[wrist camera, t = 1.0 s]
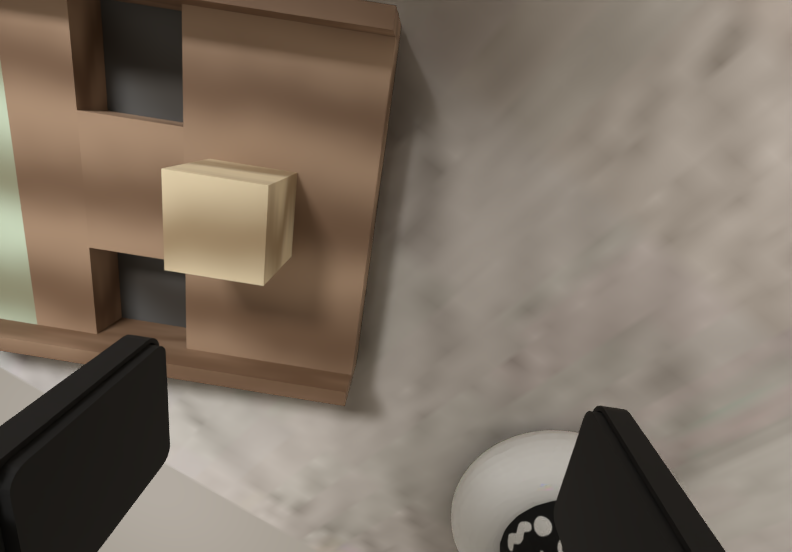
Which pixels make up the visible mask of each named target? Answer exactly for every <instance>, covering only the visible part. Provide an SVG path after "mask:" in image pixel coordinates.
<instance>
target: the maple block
mask: <svg viewBox="0 0 792 552" xmlns="http://www.w3.org/2000/svg"><path fill="white" fill-rule="evenodd" d="M161 177H162V209H163V241H164V270H167V271H173V272H179V273H185V274H192V275H198V276H204V277H210V278H217V279H223V280H229V281H236V282H242V283H248V284H254V285H261V286H264V285H265V284H266V283H267V282H268V281H269V280H270V279H271V278H272V276H273V275H274V274H275V273H276V272H277V271H278V270H279V269H280V268H281V267H282V266H283V265H284V264H285V263H286V262H287V261H288V260H289V258H290V257H291V256H292V242H293V228H294V214H295V200H296V185H297V172H291V171H284V170H278V169H272V168H265V167H259V166H252V165H246V164H240V163H233V162H227V161H221V160H214V159H206V160H201V161H196V162H192V163H187V164H182V165H177V166H172V167H167V168H162V169H161Z"/></svg>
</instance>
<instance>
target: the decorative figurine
mask: <svg viewBox="0 0 792 552" xmlns="http://www.w3.org/2000/svg"><path fill="white" fill-rule="evenodd" d="M578 434H579V433H577V432H571V431H564V430H542V431H535V432H528V433H524V434H520V435H517V436H514V437H511V438H509V439H506V440H504V441H502V442H499V443H498V444H496V445H494V446H493V447H491V448H489V449H488V450H487V451H485V452H484V453H483V454H481V455H480V456H479V457H478V458H477V459H476V460H475V461H474V462H473V463H472V464H471V465H470V466H469V468H468V469H467V470H466V472H465V473H464V475H463V476H462V478H461V480H460V482H459V484H458V486H457V488H456V491H455V494H454V497H453V501H452V506H451V528H452V534H453V538H454V541H455V544H456V547H457V549H458V551H459V552H564V551H563V548H562V545H561V542H560V538H559V535H558V532H557V529H556V526H555V522H554V506H555V503H556V500H557V497H558V494H559V491H560V488H561V485H562V482H563V479H564V476H565V473H566V470H567V467H568V464H569V461H570V458H571V455H572V452H573V449H574V446H575V443H576V440H577V437H578Z"/></svg>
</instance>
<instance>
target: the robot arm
mask: <svg viewBox="0 0 792 552" xmlns="http://www.w3.org/2000/svg"><path fill="white" fill-rule="evenodd" d="M169 449H170V437H169V413H168V390H167V366H166V351H165V348H164V347H163V346H159V342H158V340H157V339H155V338H150V337H143V336H137V335H125V336H123V337H122V338H121V339H119V340H118V341H116V342H115V343H114V344H112V345H111V346H110V347H108V348H107V349H105V350H104V351H103V352H101V353H100V354H99V355H97V356H96V357H94V358H93V359H92V360H90V361H89V362H88V363H86V364H85V365H83V366H82V367H81V368H79V369H78V370H77V371H75V372H74V373H73V374H71V375H70V376H68V377H67V378H66V379H64V380H63V381H62V382H60V383H59V384H57V385H56V386H55V387H53V388H52V389H51V390H49V391H48V392H46V393H45V394H44V395H42V396H41V397H40V398H38V399H37V400H36V401H34V402H33V403H31V404H30V405H29V406H27V407H26V408H25V409H23V410H22V411H21V412H19V413H18V414H16V415H15V416H14V417H12V418H11V419H9V420H8V421H7V422H5V423H4V424H3V425H1V426H0V552H97V551H98V550H99V549H100V547H101V546H102V545H103V544H104V542H105V541H106V540H107V538H108V537H109V536H110V534H111V533H112V532H113V530H114V529H115V528H116V526H117V525H118V524H119V522H120V521H121V520H122V518H123V517H124V515H125V514H126V513H127V512H128V510H129V509H130V508H131V507H132V505H133V504H134V503H135V501H136V500H137V499H138V497H139V496H140V494H141V493H142V492H143V490H144V489H145V488H146V486H147V485H148V484H149V483H150V481H151V480H152V479H153V477H154V476H155V475H156V473H157V472H158V471H159V469H160V468H161V467H162V465H163V464H164V462H165V461H166V458H167V456H168V453H169ZM554 522H555V526H556V529H557V532H558V535H559V538H560V542H561V545H562V548H563V551H564V552H725V550H724V549H723V547H722V546H721V544H720V543H719V542H718V540H717V539H716V537H715V536H714V534H713V533H712V531H711V530H710V529H709V527H708V526H707V524H706V523H705V521H704V520H703V518H702V517H701V516H700V514H699V513H698V511H697V510H696V508H695V507H694V505H693V504H692V502H691V501H690V500H689V498H688V497H687V495H686V494H685V492H684V491H683V489H682V488H681V487H680V485H679V484H678V482H677V481H676V479H675V478H674V476H673V475H672V474H671V472H670V471H669V469H668V468H667V466H666V465H665V463H664V462H663V461H662V459H661V458H660V456H659V455H658V453H657V452H656V450H655V449H654V448H653V446H652V445H651V443H650V442H649V440H648V439H647V437H646V436H645V435H644V433H643V432H642V430H641V429H640V427H639V426H638V424H637V423H636V421H635V420H634V419H633V417H632V416H631V414H630V413H629V412H628V411H627V410H624V409H618V408H611V407H605V406H597V407H596V408H595V409H594V410H593V412H592V411H588V412H587V413H586V414H585V416H584V419H583V422H582V425H581V428H580V431H579V434H578V437H577V440H576V443H575V446H574V449H573V452H572V455H571V458H570V461H569V464H568V467H567V470H566V473H565V476H564V479H563V482H562V485H561V488H560V491H559V494H558V497H557V500H556V503H555V506H554Z"/></svg>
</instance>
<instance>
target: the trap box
mask: <svg viewBox="0 0 792 552" xmlns="http://www.w3.org/2000/svg"><path fill="white" fill-rule="evenodd" d="M400 33H401V22H400V18H399V15H398V11H397V7H396V6H395V5H389V4H382V3H376V2H369V1H363V0H0V351H6V352H12V353H19V354H25V355H31V356H37V357H43V358H50V359H56V360H62V361H68V362H74V363H81V364H86V363H88V362H89V361H90V360H92V359H93V358H94V357H96V356H97V355H99V354H100V353H101V352H103V351H104V350H105V349H107V348H108V347H110V346H111V345H112V344H114V343H115V342H116V341H118V340H119V339H121V338H122V337H123V336H125V335H137V336H143V337H150V338H155V339H157V340H158V342H159V346H163V347H164V348H165V351H166V366H167V378H174V379H180V380H186V381H192V382H199V383H205V384H211V385H217V386H223V387H230V388H236V389H242V390H248V391H254V392H261V393H267V394H273V395H279V396H285V397H292V398H298V399H304V400H310V401H316V402H323V403H329V404H335V405H341V406H345V403H346V400H347V396H348V392H349V389H350V385H351V381H352V378H353V374H354V371H355V367H356V362H357V355H358V347H359V340H360V332H361V325H362V317H363V310H364V302H365V295H366V287H367V280H368V272H369V265H370V257H371V250H372V243H373V235H374V228H375V220H376V213H377V205H378V198H379V190H380V183H381V175H382V168H383V160H384V153H385V145H386V138H387V130H388V123H389V116H390V108H391V101H392V93H393V86H394V78H395V71H396V63H397V56H398V48H399V41H400ZM206 159H214V160H221V161H227V162H233V163H240V164H246V165H252V166H259V167H265V168H272V169H278V170H284V171H291V172H297V185H296V200H295V214H294V228H293V242H292V256H291V257H290V258H289V260H288V261H287V262H286V263H285V264H284V265H283V266H282V267H281V268H280V269H279V270H278V271H277V272H276V273H275V274H274V275H273V276H272V278H271V279H270V280H269V281H268V282H267V283H266V284H265V285H264V286H261V285H254V284H248V283H242V282H236V281H229V280H223V279H217V278H210V277H204V276H198V275H192V274H185V273H179V272H173V271H167V270H164V241H163V209H162V177H161V169H162V168H167V167H172V166H177V165H182V164H187V163H192V162H196V161H201V160H206Z"/></svg>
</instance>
